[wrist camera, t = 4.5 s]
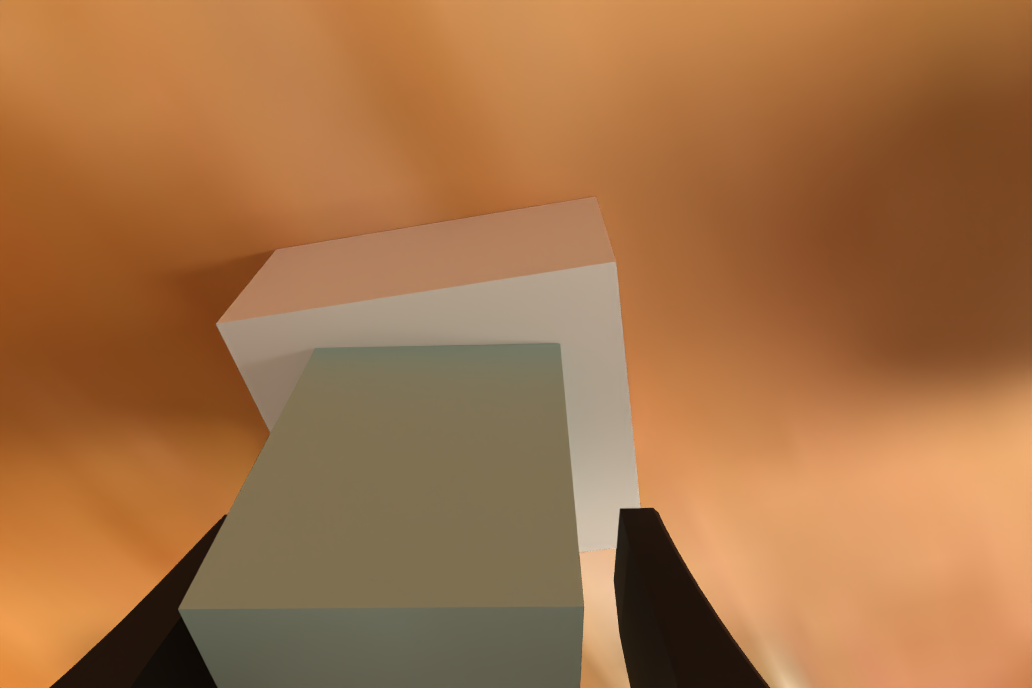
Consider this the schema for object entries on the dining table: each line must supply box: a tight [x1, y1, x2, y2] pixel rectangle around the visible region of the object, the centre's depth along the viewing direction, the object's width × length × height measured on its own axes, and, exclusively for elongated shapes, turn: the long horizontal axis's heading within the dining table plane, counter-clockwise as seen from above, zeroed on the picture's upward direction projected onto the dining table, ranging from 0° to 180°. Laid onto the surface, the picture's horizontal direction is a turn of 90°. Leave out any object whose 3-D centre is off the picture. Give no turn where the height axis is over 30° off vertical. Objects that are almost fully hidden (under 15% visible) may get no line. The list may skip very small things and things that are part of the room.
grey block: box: [216, 196, 640, 552], centre depth 16 cm, size 8×8×4 cm
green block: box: [178, 344, 584, 688], centre depth 12 cm, size 5×5×6 cm
